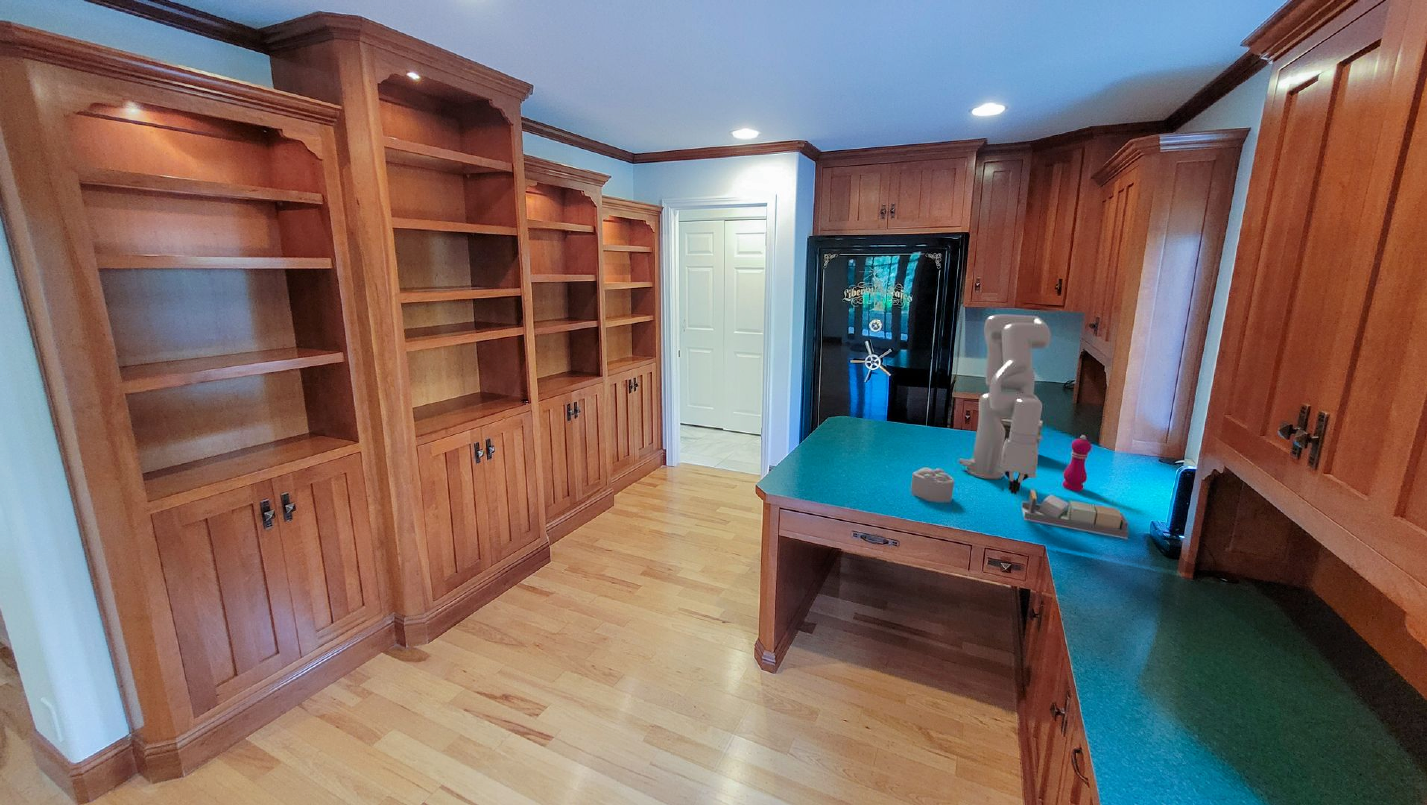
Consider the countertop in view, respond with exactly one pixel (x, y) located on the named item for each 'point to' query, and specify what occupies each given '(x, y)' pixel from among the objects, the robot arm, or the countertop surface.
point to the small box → (1053, 507)
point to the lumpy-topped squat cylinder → (932, 485)
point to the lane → (1075, 522)
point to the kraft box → (1107, 517)
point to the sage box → (1081, 512)
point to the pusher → (1032, 502)
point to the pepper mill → (1077, 465)
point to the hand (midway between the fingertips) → (1013, 492)
